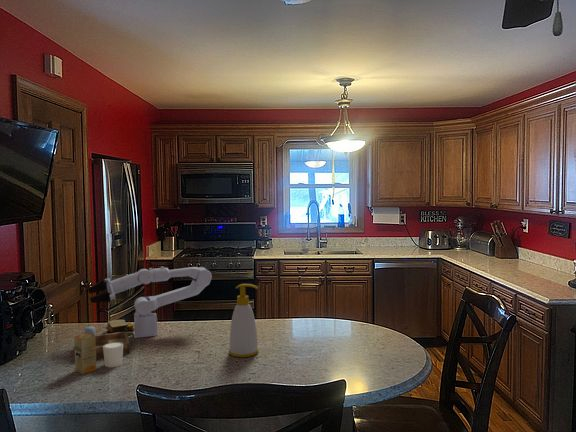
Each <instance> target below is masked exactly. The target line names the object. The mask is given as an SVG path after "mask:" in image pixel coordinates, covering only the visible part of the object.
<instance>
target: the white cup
mask: <svg viewBox="0 0 576 432" xmlns="http://www.w3.org/2000/svg"><path fill="white" fill-rule="evenodd" d="M103 353H104V357H103V358H104V365H105V367H106V368H116V367H119V366H121V365H122V364H123V356H124V355H123V343H120V342H113V343H108V344H105V345H104V346H103Z"/></svg>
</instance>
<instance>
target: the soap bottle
mask: <svg viewBox="0 0 576 432" xmlns="http://www.w3.org/2000/svg"><path fill="white" fill-rule="evenodd" d="M246 287H247V288H248V287H250V288H254V289H255V290H258V289H259V287H258V286H257V285H256V284H253V283H240V284H238V285H237V286H235V289H239V295H237V297H236V298H237V299H236V305H235V307H234V309H233V312H232V317H231V323H230V324H231V325H230V330H229V331H230V333H229V350H228V354H229V355H230V356H232V357H236V358H249V357H252V356H255V355H257V354H258V353H259V348H258V334H257V325H256V319H255V315H254V311H253V309H252V305H250V300H249V295H247V294H246Z"/></svg>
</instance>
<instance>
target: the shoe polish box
mask: <svg viewBox="0 0 576 432" xmlns="http://www.w3.org/2000/svg"><path fill="white" fill-rule="evenodd" d="M95 335H96V334H95ZM95 335H92V334H90V333H86V334H85V333H83V334H78V335H75V336H73V338H74V340H73V341H74V343H73V344H74V369H75V372H77V373H79V374H81V375H84V374H88V373H91V372H94V371H97V358H96V341H95Z"/></svg>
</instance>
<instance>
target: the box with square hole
mask: <svg viewBox="0 0 576 432" xmlns="http://www.w3.org/2000/svg"><path fill="white" fill-rule="evenodd" d="M95 341H96V359H101V358H104V353H103V346H104V345H105V344H108V343H113V342H120V343H123V356H124V355H130V353H131V351H130V340H129V336H128V335H127V332H120V333H111V334H104V333H103V334H97V335H96V334H95Z"/></svg>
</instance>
